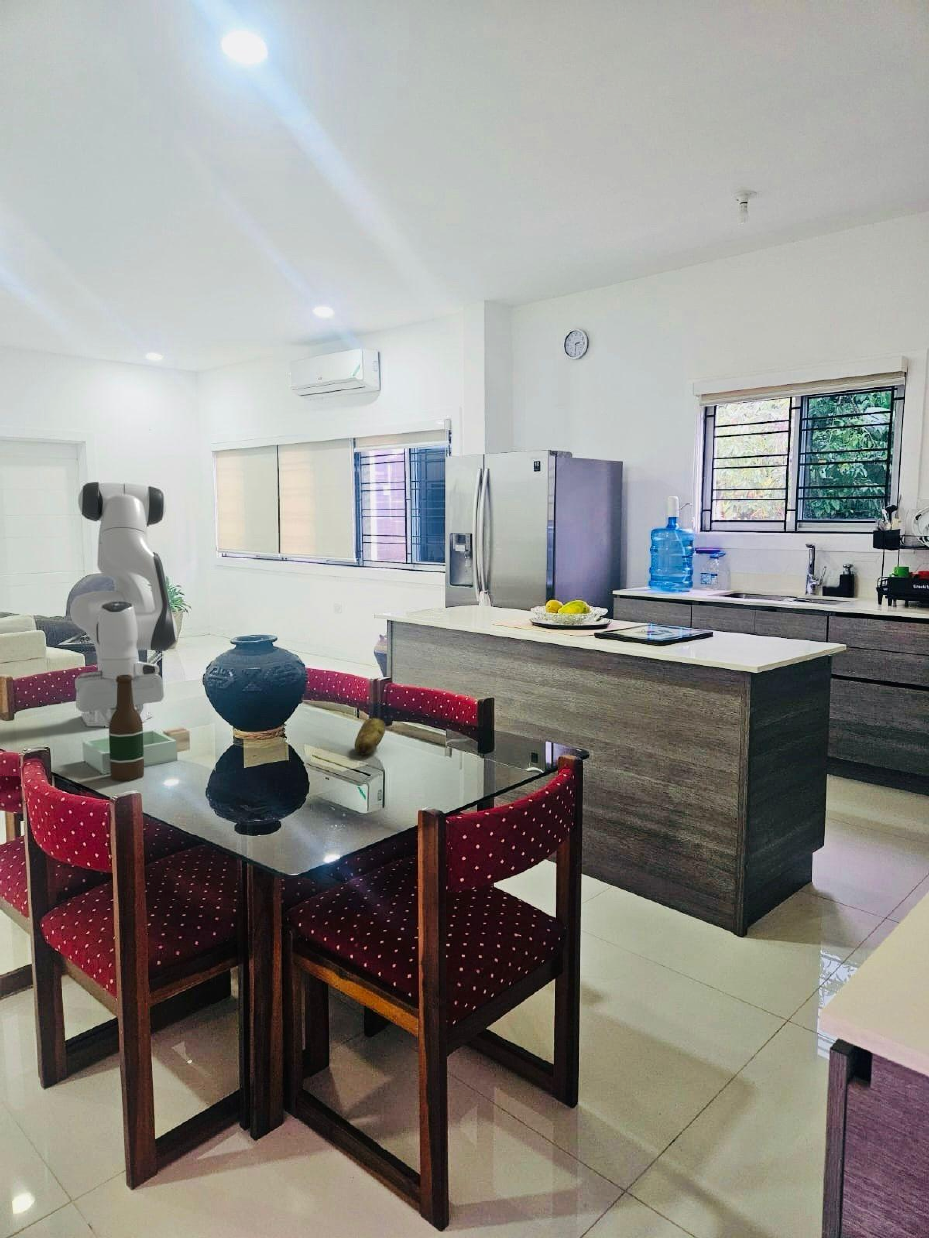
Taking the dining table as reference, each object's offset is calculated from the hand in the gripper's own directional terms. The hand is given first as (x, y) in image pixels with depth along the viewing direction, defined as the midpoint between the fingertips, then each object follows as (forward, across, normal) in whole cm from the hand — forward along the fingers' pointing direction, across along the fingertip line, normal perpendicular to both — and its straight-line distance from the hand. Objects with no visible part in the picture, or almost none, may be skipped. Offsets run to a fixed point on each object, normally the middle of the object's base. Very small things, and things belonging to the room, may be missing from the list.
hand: (122, 724), depth 200 cm
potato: (+10, +53, -30) cm, 61 cm away
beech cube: (+10, +15, +3) cm, 18 cm away
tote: (+10, +2, 0) cm, 10 cm away
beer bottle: (+10, -3, -12) cm, 16 cm away
